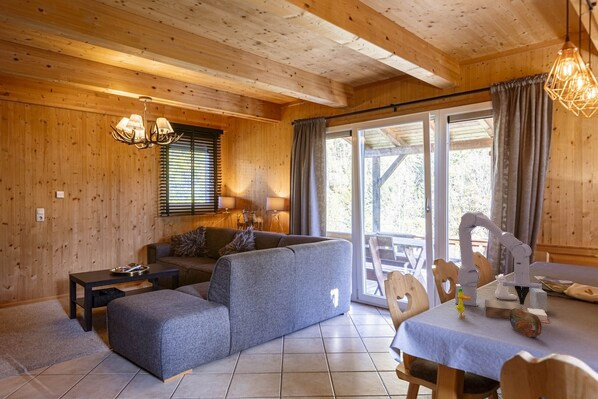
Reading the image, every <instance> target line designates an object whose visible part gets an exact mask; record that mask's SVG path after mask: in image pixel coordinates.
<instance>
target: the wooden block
mask: <svg viewBox="0 0 598 399" xmlns="http://www.w3.org/2000/svg"><path fill="white" fill-rule="evenodd" d="M514 308H517V309H523V307H522V305H520V302H514V301H504V300H503V301H501V300H494V299H493V300H492V299H484V311H485V314H484V315H485V317H491V318H492V317H493V318H500V319H501V318H503V319H510V317H509V316H510V312H511V310H512V309H514Z"/></svg>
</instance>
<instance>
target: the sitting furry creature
mask: <svg viewBox="0 0 598 399" xmlns="http://www.w3.org/2000/svg"><path fill="white" fill-rule="evenodd" d="M506 278H507V277H506V276H505V275H504V274H503V273H502V274H501V273H500V274H498V275H495V279H496V281H497V282H498V284H497V285H496V289H495V292H494V296H495V297H496V298H497V299H499V300H508V301H509V300H511V301H512V300H513V301H516V300H517V299H518V295H515V294H514V293H513V294H512V293H510V292H509V289H510V287H509V286H503V281H507V279H506Z"/></svg>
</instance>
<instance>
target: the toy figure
mask: <svg viewBox="0 0 598 399" xmlns="http://www.w3.org/2000/svg"><path fill="white" fill-rule="evenodd" d="M457 298H458V300H459V304H456V305H454V307H455V309H456V310H457V311H458V314H459V317H460V318H466V315H465V314H464V312H465V311H466V310H465V305H463V300H470V299H471V298H470V297H467V296H463V291H462V288H459V291H458V297H457Z"/></svg>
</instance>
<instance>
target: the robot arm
mask: <svg viewBox="0 0 598 399" xmlns="http://www.w3.org/2000/svg"><path fill="white" fill-rule="evenodd" d="M476 227H477V228H478V227H483V228H485V229H486V230H488V231H489V232H490V233H492V234H493V235H494V236H495V237H497V238H498V242H499V243H500V244H501V245H502V246H504V247H505V248H506V249H507V250H509V252H511V256H512V257H513V280H506V281H503V286H508V287H513V288H514V289H515V293H517V298H518V300H519V303H520V305H521V306H524V305H525V301H526V298H527V296H528V294H529V293H530V288H537V289H541V290H543V284H542V283H538V282H537V283H536V282H530V256H531V255H532V252H533V251H532V248H531V247H530V245H529V244H527V243H523V241H522V240H519V239H518V238H516V237H515V236H514V235H515V234H513V233H512V232H509V231H506V232H504V230H502V229H501V228H500V227H499V226H498V225H496V224H495V223H494V222H493V221H492V220H491V219H490V218H489V216H488V215H486V214H484V213H483V212H481V211H472V212H471V211H470V212H469V211H467V212H465V213H464V214H462V215H461V217H460V222H459V224H458V239H459V241H458V242H459V253H460V263H461V264H460V267H459V268H458V273H457V276H456V277H457V278H456V279H457V282H458V283H456V284H455V295H454V297H455V305H458V304H459V300H458V298H457V297H458V291H459V288H462V291H463V296H467V297H470V298H471V299H470V300H463V306H465V305H466V306H474V307H477V306H478V298H477V297H478V292H477V290H478V288H477V287H478V286H477V285H478V282H479V280H480V274H479V272H478V268H477V266H476V265H475V264H474V252H473V241H472V240H473V239H472V231H473V230H474V229H475V228H476Z"/></svg>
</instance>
